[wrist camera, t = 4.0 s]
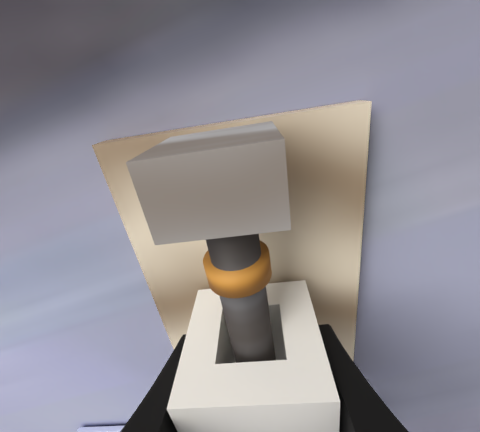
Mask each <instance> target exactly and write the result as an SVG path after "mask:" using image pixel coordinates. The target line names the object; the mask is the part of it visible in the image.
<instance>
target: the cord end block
mask: <svg viewBox="0 0 480 432" xmlns="http://www.w3.org/2000/svg"><path fill="white" fill-rule="evenodd" d="M266 291H267V298H268V305H269V312H270V320H271V327H272V334H273V341H274V349H275V356H276V360H274V361H257V362H241V363H236V361H235V357H234V352H233V348H232V344H231V340H230V336H229V332H228V328H227V324H226V320H225V316H224V312H223V308H222V304H221V300H220V296H219V295H217V294H216V293H214V292H213V291H212V290H211V289H203V290H198V292H197V296H196V300H195V304H194V307H193V311H192V315H191V319H190V322H189V326H188V330H187V334H186V338H185V341H184V345H183V349H182V353H181V356H180V360H179V364H178V368H177V372H176V375H175V379H174V383H173V387H172V391H171V394H170V398H169V402H168V406H167V411H168V413H169V415H170V417H171V419H172V421H173V423H174V425H175V427H176V429H177V431H178V432H339V425H340V399H339V395H338V392H337V388H336V385H335V381H334V378H333V374H332V371H331V368H330V364H329V361H328V357H327V354H326V350H325V347H324V343H323V340H322V336H321V333H320V330H319V326H318V323H317V319H316V316H315V312H314V309H313V305H312V302H311V298H310V295H309V291H308V288H307V285H306V281H305V280H301V281H290V282H279V283H268V284H267V285H266Z"/></svg>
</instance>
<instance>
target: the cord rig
mask: <svg viewBox="0 0 480 432" xmlns="http://www.w3.org/2000/svg"><path fill="white" fill-rule="evenodd" d="M371 102H372V101H362V100H359V101H352V102H346V103H340V104H333V105H327V106H321V107H314V108H308V109H302V110H296V111H289V112H283V113H277V114H270V115H264V116H258V117H251V118H245V119H239V120H233V121H226V122H220V123H214V124H207V125H201V126H195V127H188V128H182V129H176V130H170V131H163V132H157V133H151V134H144V135H138V136H132V137H125V138H119V139H113V140H107V141H103V142H100V143H97V144H94V145H92V147H93V149H94V152H95V154H96V157H97V159H98V162H99V164H100V167H101V169H102V172H103V174H104V176H105V179H106V181H107V184H108V186H109V189H110V191H111V194H112V196H113V199H114V201H115V204H116V206H117V209H118V211H119V214H120V216H121V219H122V221H123V224H124V226H125V229H126V231H127V234H128V236H129V239H130V241H131V244H132V246H133V249H134V251H135V254H136V256H137V259H138V261H139V264H140V266H141V269H142V271H143V274H144V276H145V279H146V281H147V284H148V286H149V289H150V291H151V294H152V296H153V299H154V301H155V304H156V306H157V309H158V311H159V314H160V316H161V319H162V321H163V324H164V326H165V329H166V331H167V334H168V336H169V339H170V341H171V344H172V346H173V349H175V347H176V346H177V344H178V342H179V340H180V338H181V337H182V335H183V334H187V330H188V326H189V322H190V319H191V315H192V311H193V307H194V304H195V300H196V296H197V292H198V290H203V289H211V290H212V291H213V292H214V293H216V294H217V295H219V296H220V300H221V304H222V308H223V312H224V316H225V320H226V324H227V328H228V332H229V336H230V340H231V344H232V348H233V352H234V357H235V361H236V363H241V362H257V361H274V360H276V356H275V349H274V341H273V334H272V327H271V320H270V312H269V305H268V298H267V291H266V285H267V284H268V283H279V282H290V281H301V280H305V281H306V285H307V288H308V291H309V295H310V298H311V302H312V305H313V309H314V312H315V316H316V319H317V323H318V325H322V324H329V325H330V326H331V327H332V329H333V330H334V332H335V334H336V336H337V337H338V339H339V341H340V342H341V344H342V346H343V347H344V349H345V350H346V352H347V353H348V355H349V356H350V358H351V359H352V361H353V360H354V346H355V332H356V317H357V303H358V288H359V274H360V260H361V245H362V231H363V217H364V202H365V188H366V173H367V159H368V145H369V130H370V116H371Z"/></svg>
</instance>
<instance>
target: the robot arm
mask: <svg viewBox="0 0 480 432" xmlns="http://www.w3.org/2000/svg"><path fill="white" fill-rule="evenodd" d="M318 326H319V330H320V333H321V336H322V340H323V343H324V347H325V350H326V354H327V357H328V361H329V364H330V368H331V371H332V374H333V378H334V381H335V385H336V388H337V392H338V395H339V399H340V425H339V432H408V431H407V430H406V428H405V427H404V426H403V425H402V424H401V423H400V422H399V420H398V419H397V418H396V417H395V416H394V414H393V413H392V412H391V411H390V410H389V408H388V407H387V406H386V405H385V404H384V402H383V401H382V400H381V398H380V397H379V396H378V395H377V393H376V392H375V391H374V390H373V388H372V387H371V386H370V384H369V383H368V382H367V380H366V379H365V378H364V376H363V375H362V373H361V372H360V371H359V369H358V368H357V366H356V365H355V364H354V362H353V361H352V359H351V358H350V356H349V355H348V353H347V352H346V350H345V349H344V347H343V346H342V344H341V342H340V341H339V339H338V337H337V336H336V334H335V332H334V330H333V329H332V327H331V326H330V325H329V324H322V325H318ZM185 338H186V334H183V335H182V337H181V338H180V340H179V342H178V344H177V346H176V347H175V349H174V351H173V353H172V354H171V356H170V358H169V359H168V361H167V363H166V365H165V366H164V368H163V370H162V371H161V373H160V374H159V376H158V378H157V379H156V381H155V382H154V384H153V386H152V387H151V389H150V390H149V392H148V393H147V395H146V396H145V398H144V399H143V401H142V402H141V403H140V405H139V406H138V408H137V409H136V411H135V412H134V414H133V415H132V416H131V418H130V419H129V421H128V422H127V423H126V425H123V426H96V427H80V428H78V430H77V432H178V431H177V429H176V427H175V425H174V423H173V421H172V419H171V417H170V415H169V413H168V411H167V406H168V402H169V398H170V394H171V391H172V387H173V383H174V379H175V375H176V372H177V368H178V364H179V360H180V356H181V353H182V349H183V345H184V341H185Z"/></svg>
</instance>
